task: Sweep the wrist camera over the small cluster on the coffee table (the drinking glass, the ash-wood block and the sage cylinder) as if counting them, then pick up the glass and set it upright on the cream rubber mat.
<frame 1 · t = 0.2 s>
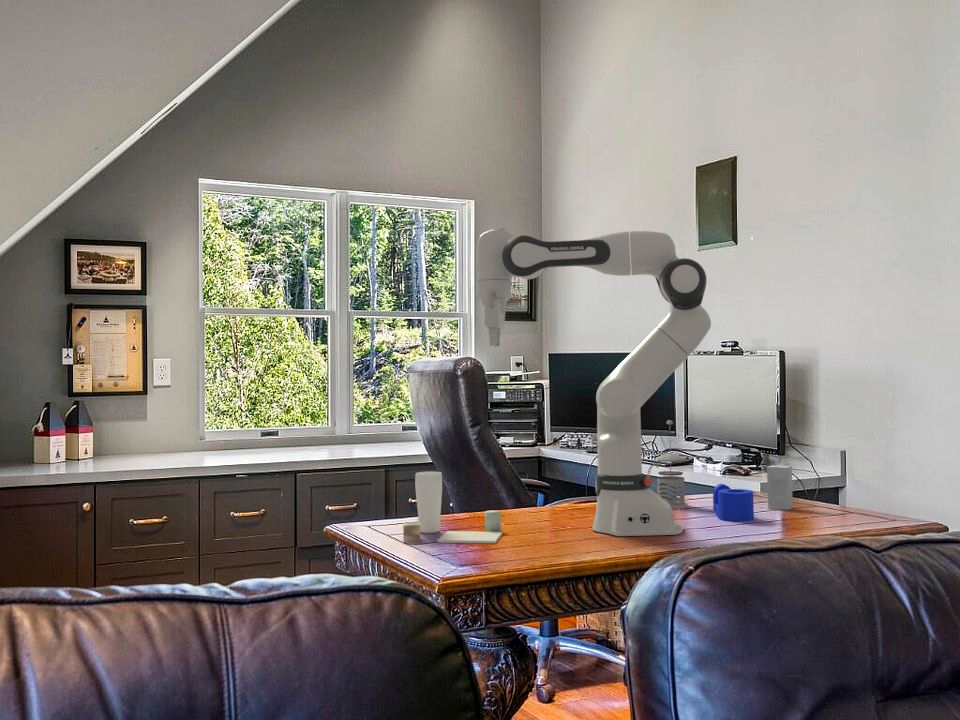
hand: (494, 346, 246), 47 cm above the table, fingers open, 8 cm apart
sage cylinder: (492, 531, 242), on the table
drinking glass: (429, 532, 243), on the table
french press: (668, 506, 279), on the table
ash block: (411, 540, 232), on the table
skincare box: (780, 509, 270), on the table
cream mat: (470, 538, 233), on the table
bracket: (730, 517, 260), on the table
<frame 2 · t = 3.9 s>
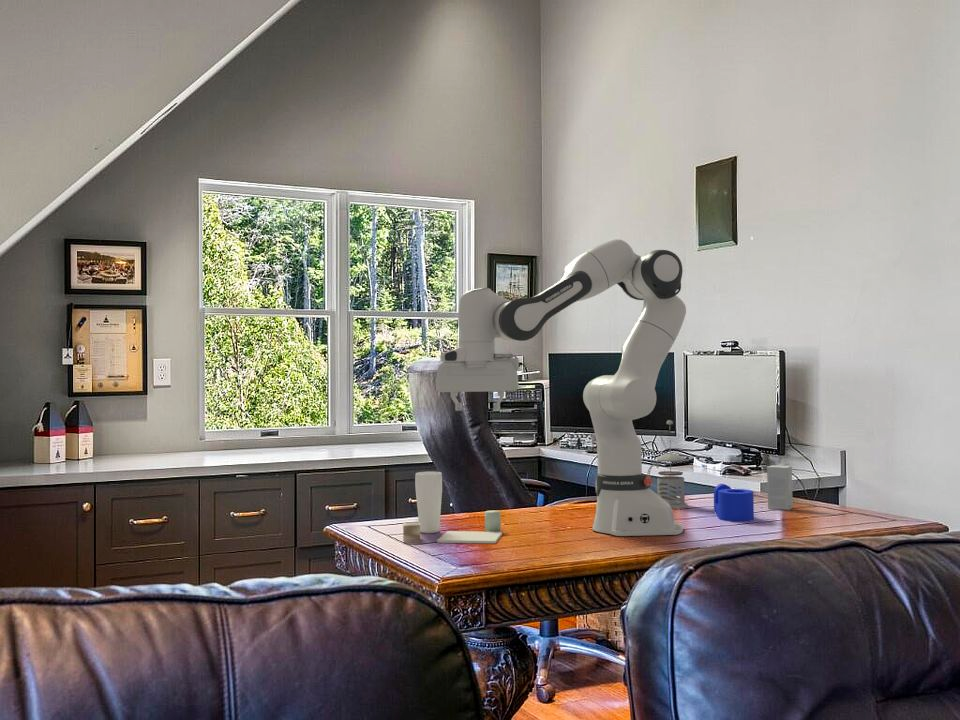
hand: (477, 410, 235), 31 cm above the table, fingers open, 8 cm apart
nothing on the table moved.
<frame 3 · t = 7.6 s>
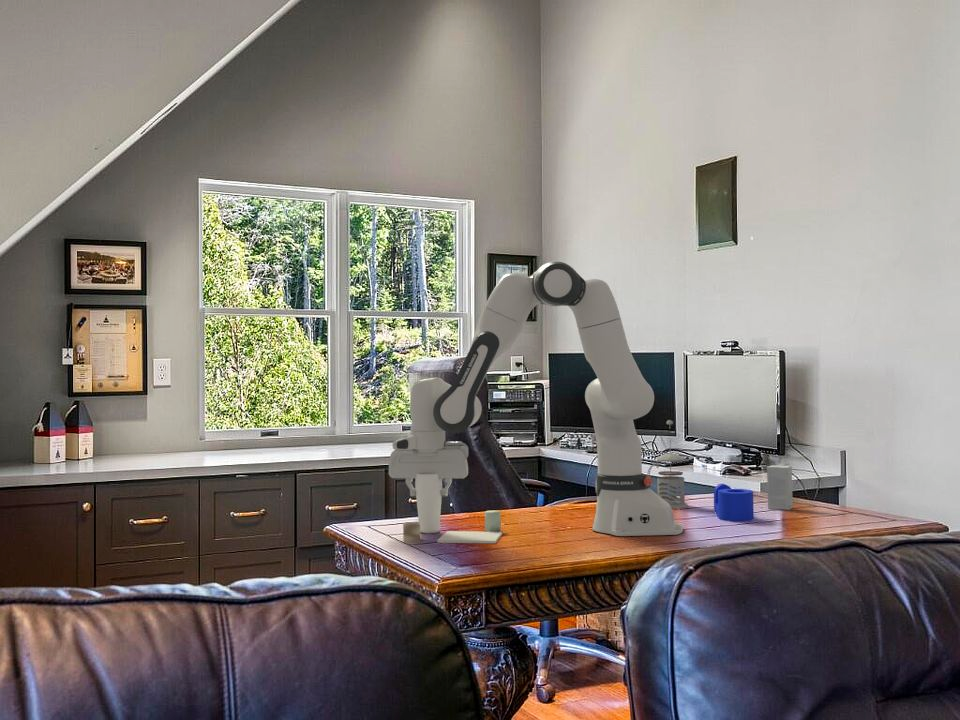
hand: (429, 495, 243), 9 cm above the table, fingers closed on drinking glass, 7 cm apart
drinking glass: (429, 532, 243), on the table, touching gripper
everything else where it was.
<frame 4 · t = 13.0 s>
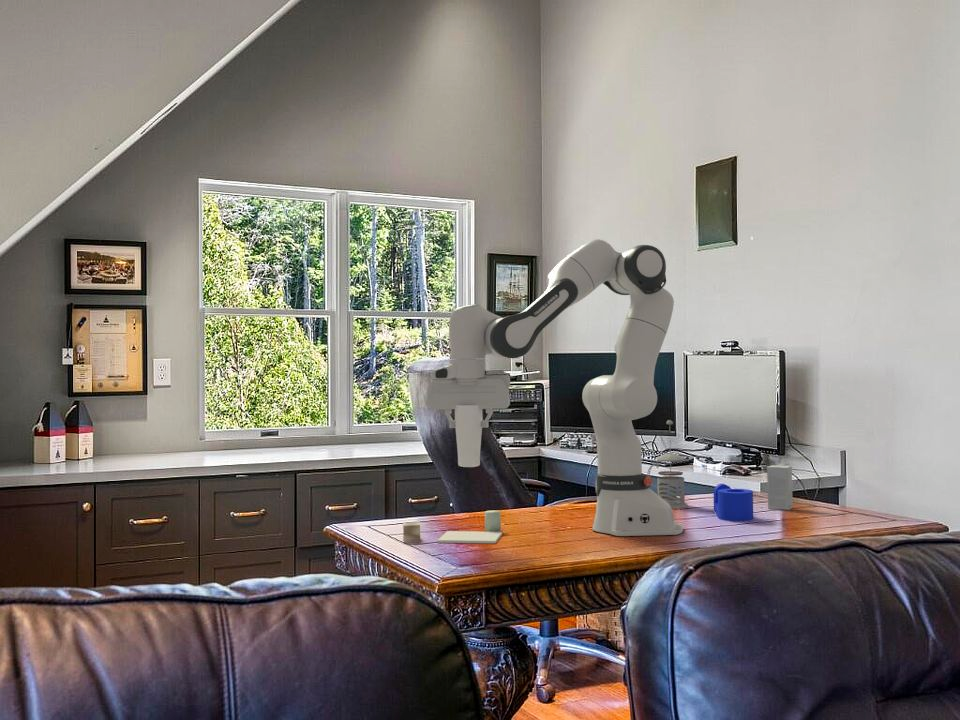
hand: (468, 427, 233), 27 cm above the table, fingers closed on drinking glass, 7 cm apart
drinking glass: (469, 467, 233), point 17 cm above the table, touching gripper
everything else where it was.
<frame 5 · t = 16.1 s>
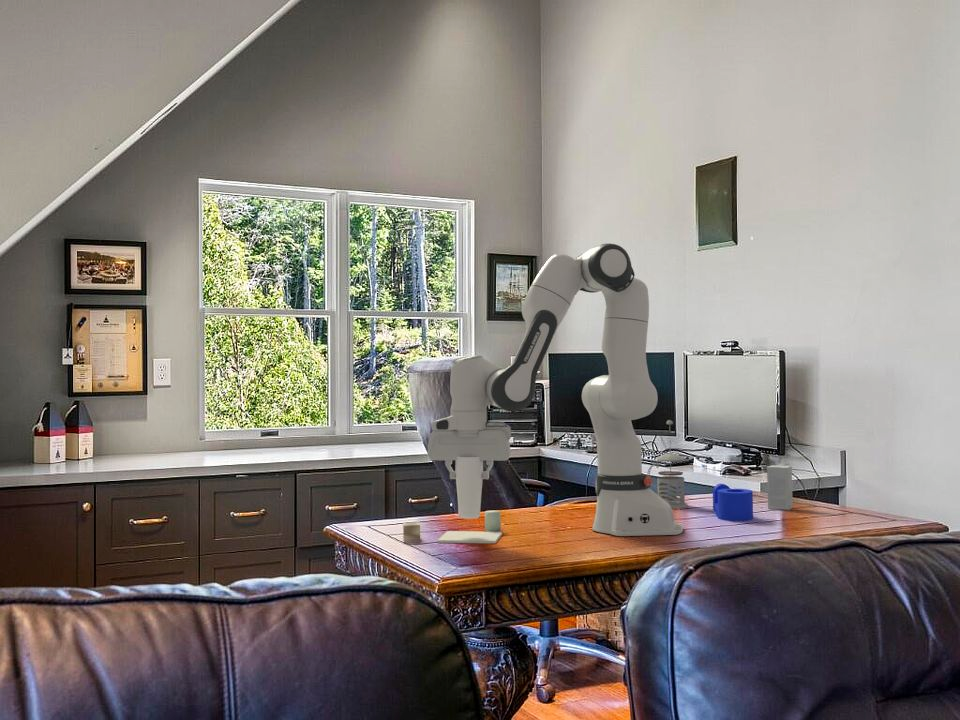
hand: (469, 478, 233), 14 cm above the table, fingers closed on drinking glass, 7 cm apart
drinking glass: (469, 518, 233), point 5 cm above the table, touching gripper
everything else where it was.
when the fingers open (10 cm above the table, at t = 18.8 s): drinking glass stays where it is, resting on cream mat.
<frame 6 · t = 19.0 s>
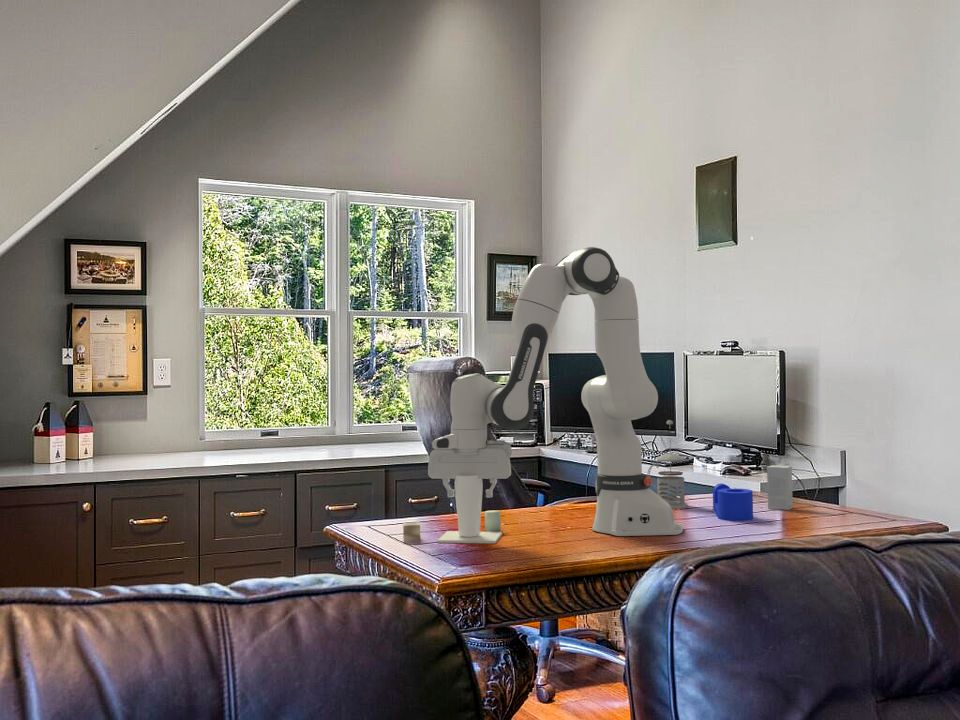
hand: (470, 497, 233), 10 cm above the table, fingers open, 8 cm apart
drinking glass: (469, 536, 233), resting on cream mat
everything else where it was.
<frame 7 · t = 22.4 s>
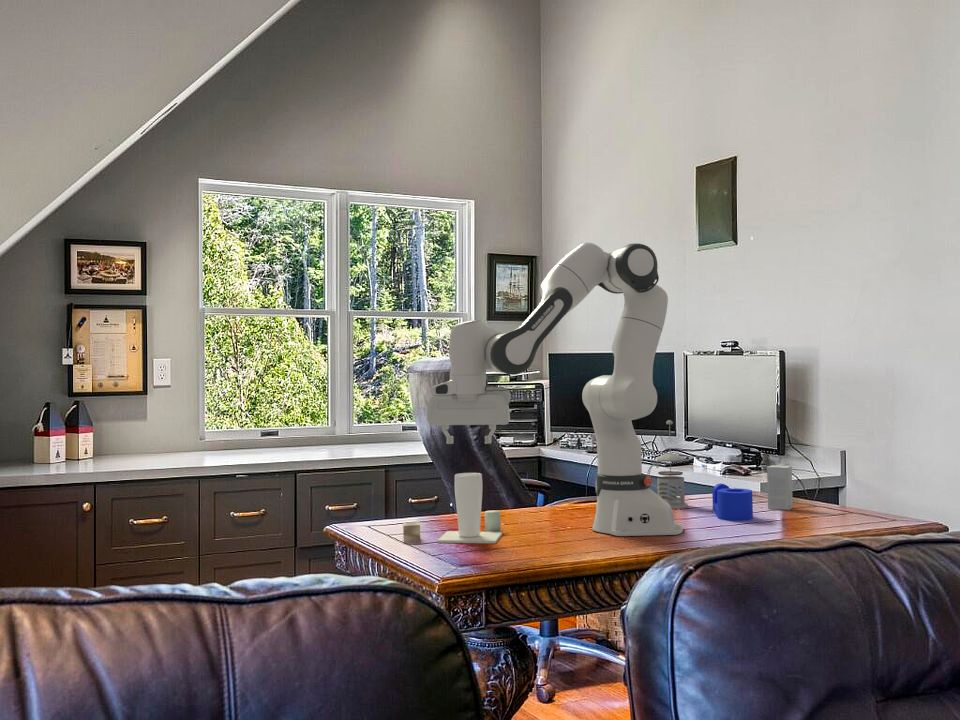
hand: (469, 443, 233), 23 cm above the table, fingers open, 8 cm apart
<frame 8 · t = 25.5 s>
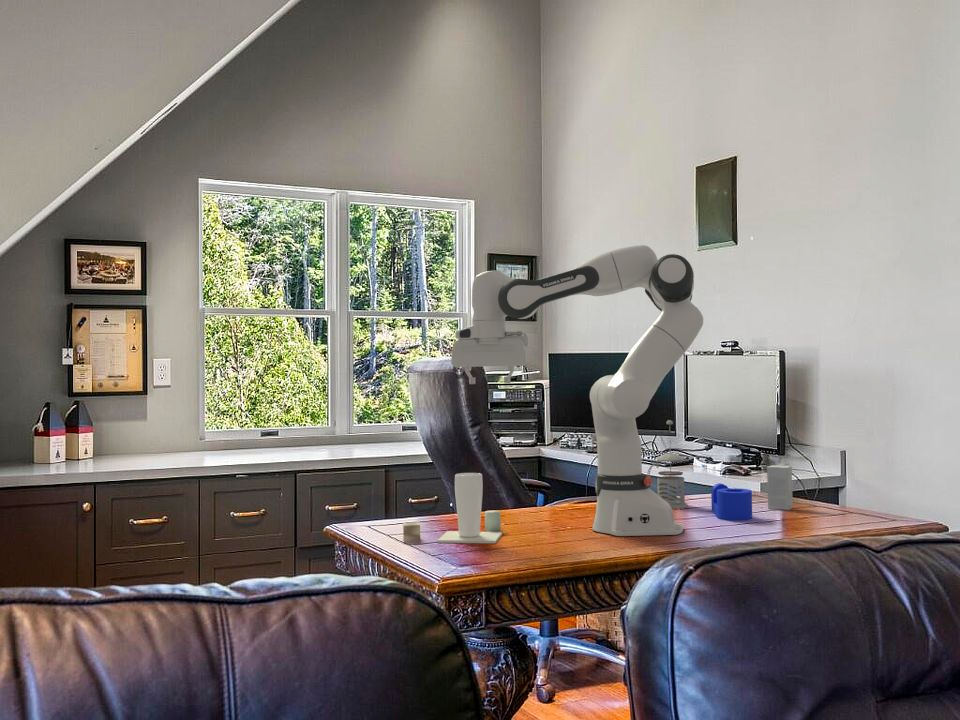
hand: (489, 383, 254), 37 cm above the table, fingers open, 8 cm apart
at the end: drinking glass inside the target area on the cream mat (0.3 cm from its centre), point 0.4 cm above the cream mat's base; drinking glass tilted 0°; the gripper is holding nothing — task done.
